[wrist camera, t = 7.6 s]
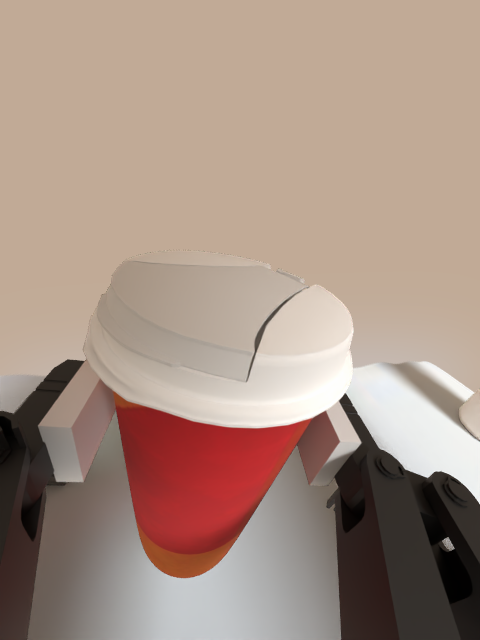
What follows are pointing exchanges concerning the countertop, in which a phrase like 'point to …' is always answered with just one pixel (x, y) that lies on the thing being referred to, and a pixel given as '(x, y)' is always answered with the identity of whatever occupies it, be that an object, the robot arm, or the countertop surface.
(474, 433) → the alcohol
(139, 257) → the paper cup
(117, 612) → the countertop surface
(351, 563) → the robot arm
